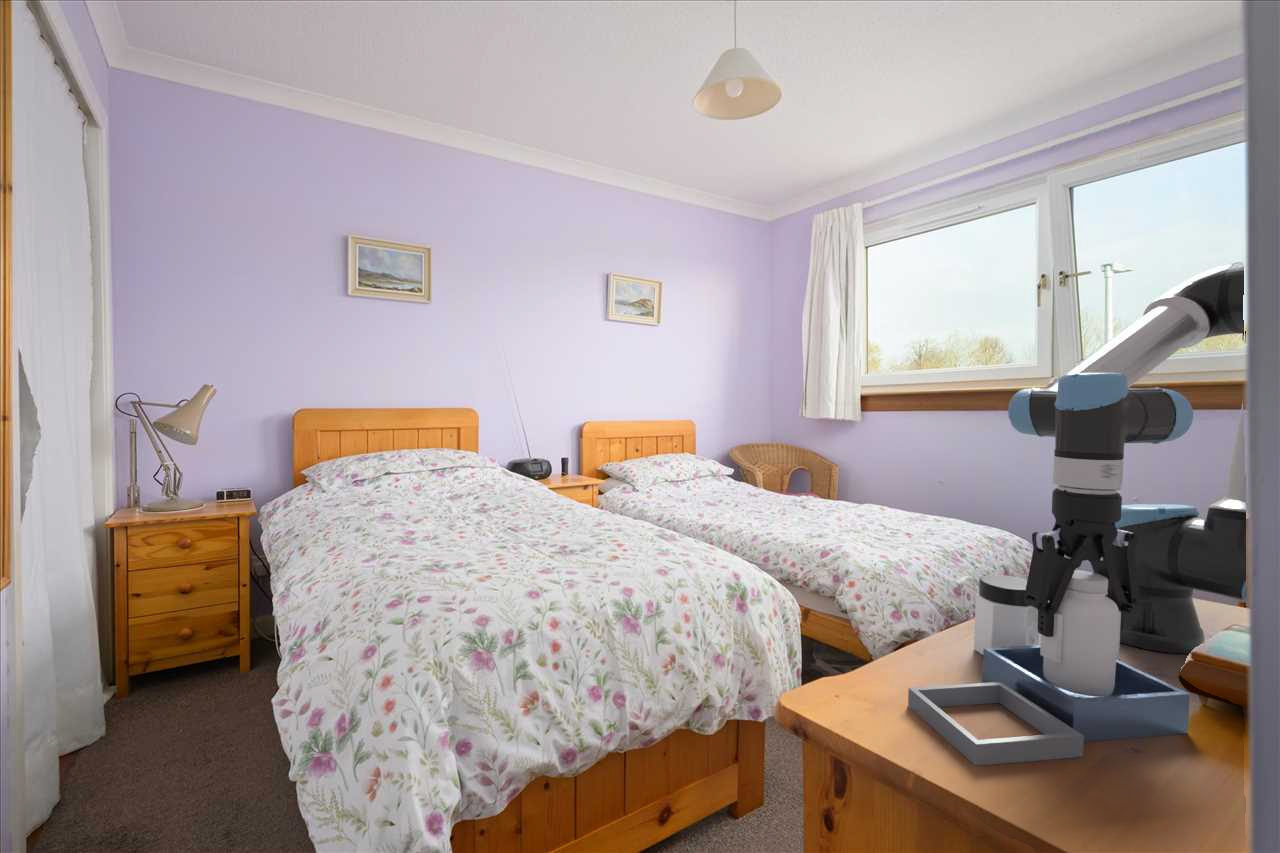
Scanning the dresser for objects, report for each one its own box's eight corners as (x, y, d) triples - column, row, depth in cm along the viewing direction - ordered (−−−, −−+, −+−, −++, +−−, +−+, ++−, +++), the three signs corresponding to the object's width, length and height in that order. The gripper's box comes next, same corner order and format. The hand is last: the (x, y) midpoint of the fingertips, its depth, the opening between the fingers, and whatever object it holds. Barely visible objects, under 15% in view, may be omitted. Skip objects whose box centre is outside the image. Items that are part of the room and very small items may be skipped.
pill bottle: (1091, 703, 79) (1096, 587, 78) (1029, 676, 86) (1033, 570, 85) (1128, 691, 82) (1134, 579, 81) (1066, 667, 90) (1070, 563, 89)
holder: (1000, 699, 86) (1000, 681, 86) (1083, 756, 72) (1083, 735, 72) (908, 705, 84) (908, 687, 84) (975, 765, 71) (976, 744, 70)
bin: (1080, 675, 93) (1081, 642, 93) (1187, 733, 78) (1189, 694, 77) (982, 681, 91) (983, 648, 91) (1072, 742, 75) (1074, 702, 75)
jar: (1018, 671, 95) (1021, 593, 94) (965, 652, 101) (968, 580, 101) (1046, 657, 100) (1049, 583, 99) (994, 640, 106) (996, 571, 106)
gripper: (1037, 495, 78) (1030, 674, 79) (1182, 492, 80) (1173, 665, 82) (995, 486, 85) (989, 650, 86) (1129, 483, 88) (1122, 642, 89)
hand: (1079, 657), depth 84 cm, fingers closed on pill bottle, 8 cm apart
